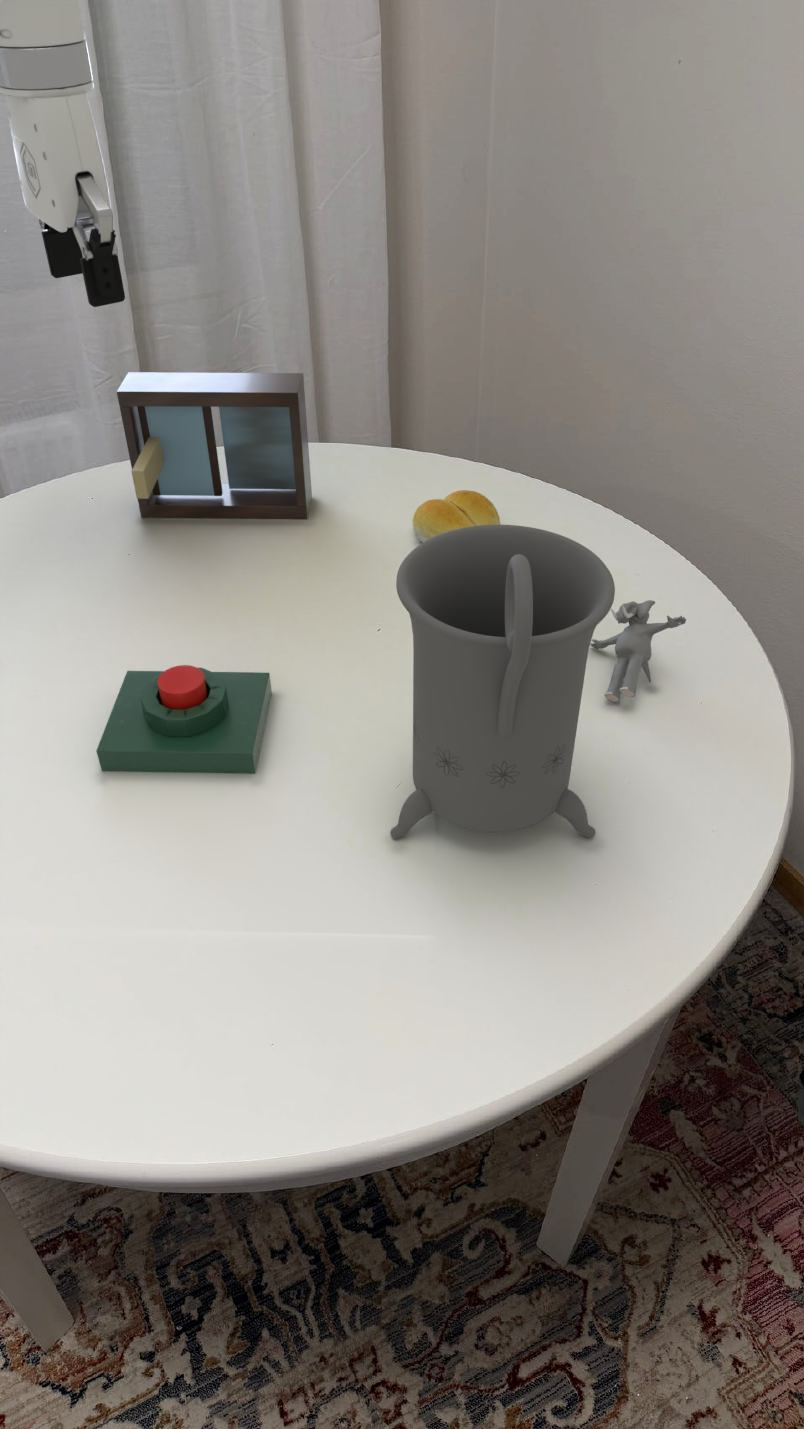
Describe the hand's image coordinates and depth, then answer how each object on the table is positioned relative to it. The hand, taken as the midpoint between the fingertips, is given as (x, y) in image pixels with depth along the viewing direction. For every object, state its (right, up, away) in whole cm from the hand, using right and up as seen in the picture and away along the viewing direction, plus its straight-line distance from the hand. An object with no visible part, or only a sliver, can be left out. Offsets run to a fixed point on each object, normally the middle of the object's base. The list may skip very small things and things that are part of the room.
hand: (87, 288), depth 92 cm
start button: (+12, -38, -13) cm, 41 cm away
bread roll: (+35, -20, +13) cm, 42 cm away
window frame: (+10, -16, +18) cm, 26 cm away
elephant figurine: (+49, -36, -5) cm, 61 cm away
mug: (+35, -46, -17) cm, 61 cm away
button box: (+12, -40, -10) cm, 43 cm away
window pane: (+6, -18, +13) cm, 23 cm away
